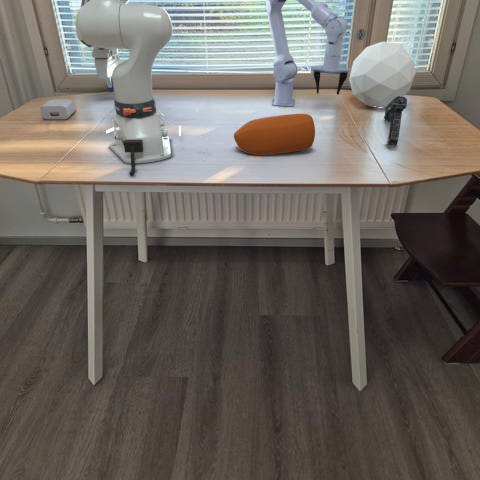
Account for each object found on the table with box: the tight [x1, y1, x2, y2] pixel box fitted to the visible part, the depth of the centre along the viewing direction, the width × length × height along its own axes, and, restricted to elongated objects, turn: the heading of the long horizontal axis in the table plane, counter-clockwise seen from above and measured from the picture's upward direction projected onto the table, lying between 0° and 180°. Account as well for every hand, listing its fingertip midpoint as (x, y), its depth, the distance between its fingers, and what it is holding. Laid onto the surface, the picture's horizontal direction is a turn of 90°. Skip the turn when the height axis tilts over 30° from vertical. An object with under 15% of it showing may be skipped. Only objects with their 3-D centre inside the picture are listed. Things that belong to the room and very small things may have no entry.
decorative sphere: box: [348, 41, 417, 110], centre depth 160 cm, size 24×25×25 cm
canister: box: [106, 77, 114, 93], centre depth 170 cm, size 4×4×5 cm
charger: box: [39, 98, 76, 120], centre depth 153 cm, size 5×9×15 cm
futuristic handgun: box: [383, 96, 408, 147], centre depth 138 cm, size 4×29×15 cm, turn 164°
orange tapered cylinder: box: [233, 113, 316, 156], centre depth 124 cm, size 12×11×25 cm
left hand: (112, 85), depth 170 cm, fingers closed on canister, 4 cm apart
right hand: (327, 93), depth 156 cm, fingers open, 7 cm apart
